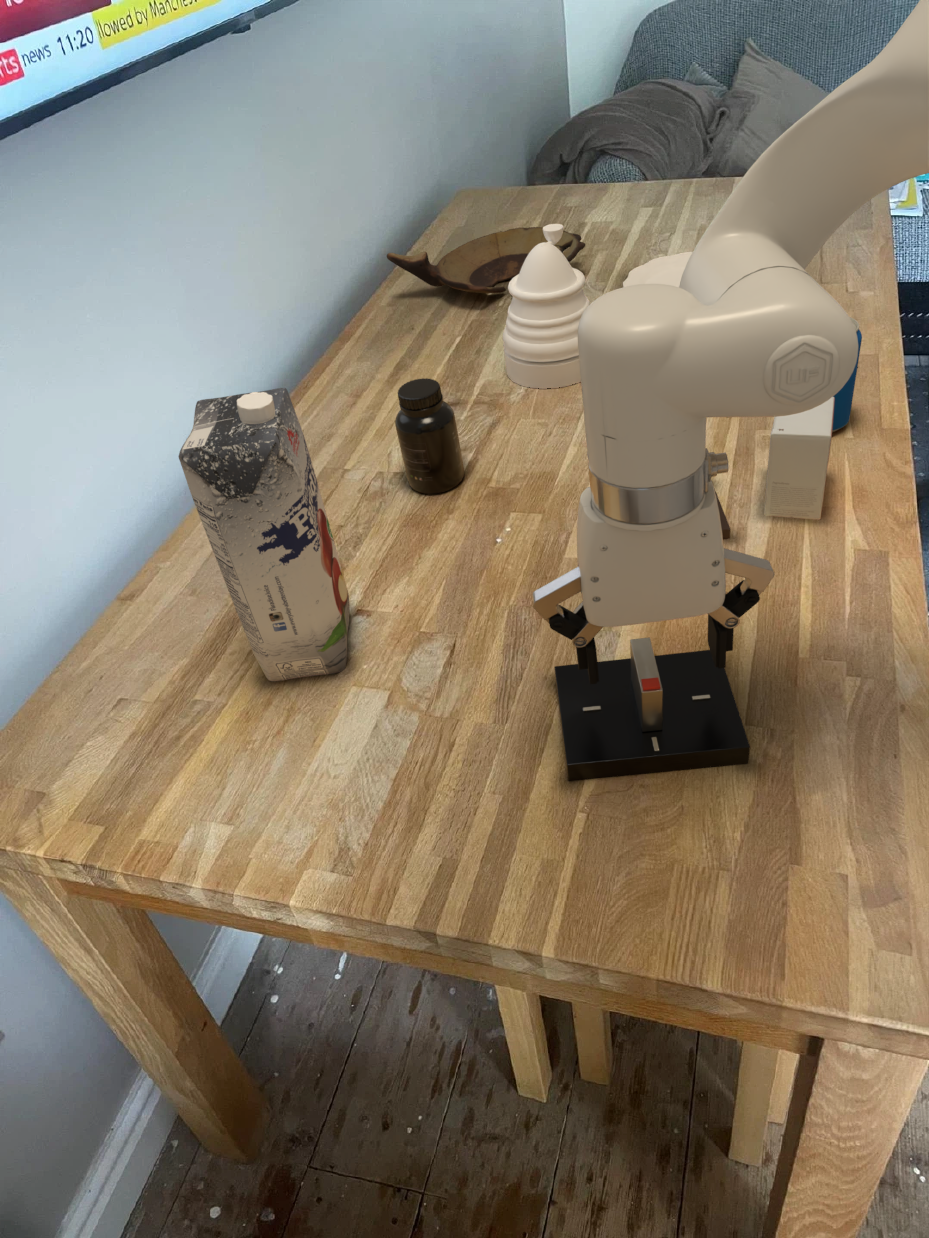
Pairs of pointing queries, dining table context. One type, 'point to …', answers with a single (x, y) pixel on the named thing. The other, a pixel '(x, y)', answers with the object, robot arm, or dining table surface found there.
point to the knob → (646, 684)
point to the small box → (799, 463)
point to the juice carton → (269, 531)
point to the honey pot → (545, 318)
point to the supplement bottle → (428, 438)
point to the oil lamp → (484, 259)
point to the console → (610, 726)
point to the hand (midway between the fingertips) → (654, 663)
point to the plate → (659, 271)
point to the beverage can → (846, 392)
